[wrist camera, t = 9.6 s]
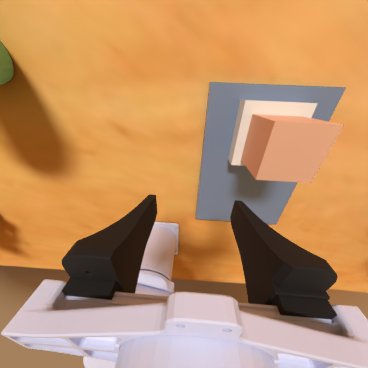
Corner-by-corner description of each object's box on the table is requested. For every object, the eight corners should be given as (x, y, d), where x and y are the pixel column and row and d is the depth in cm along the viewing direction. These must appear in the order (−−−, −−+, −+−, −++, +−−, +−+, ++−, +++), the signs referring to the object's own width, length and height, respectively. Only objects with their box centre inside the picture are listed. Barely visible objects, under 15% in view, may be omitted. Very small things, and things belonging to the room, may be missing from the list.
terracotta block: (282, 161, 18) (311, 183, 13) (240, 159, 18) (255, 179, 14) (301, 116, 15) (344, 124, 11) (252, 114, 15) (275, 121, 11)
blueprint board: (273, 221, 26) (281, 233, 24) (195, 215, 27) (195, 227, 24) (339, 87, 16) (365, 86, 13) (209, 82, 16) (212, 80, 14)
